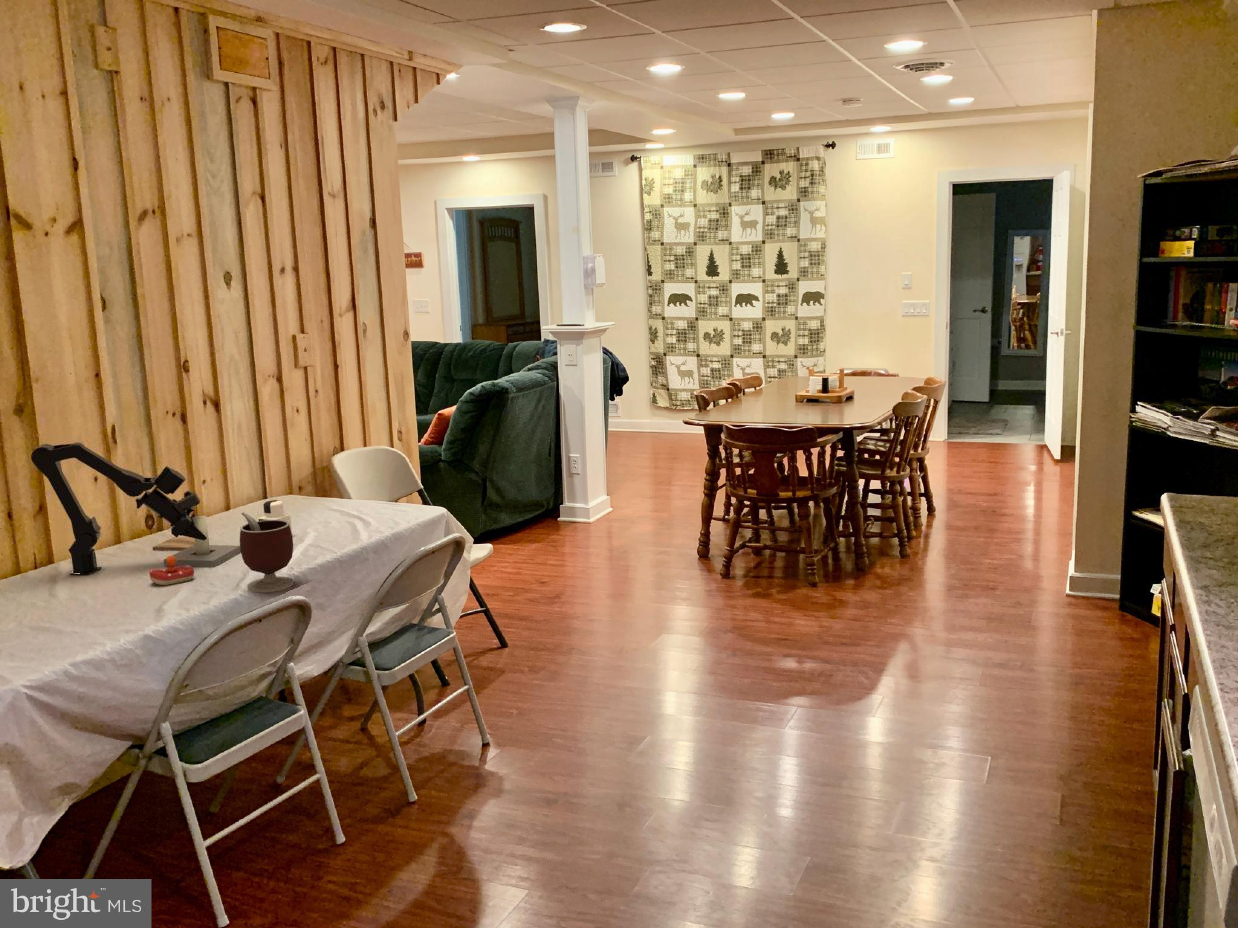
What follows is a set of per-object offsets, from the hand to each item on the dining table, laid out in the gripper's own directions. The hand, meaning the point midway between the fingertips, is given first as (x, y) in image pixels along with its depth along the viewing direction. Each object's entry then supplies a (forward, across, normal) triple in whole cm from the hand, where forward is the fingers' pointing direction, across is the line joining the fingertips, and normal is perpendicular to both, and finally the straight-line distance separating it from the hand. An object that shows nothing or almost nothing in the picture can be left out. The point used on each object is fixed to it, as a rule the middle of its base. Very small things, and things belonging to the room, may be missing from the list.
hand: (206, 537), depth 324 cm
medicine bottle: (+19, +17, -9) cm, 27 cm away
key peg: (+4, 0, +6) cm, 7 cm away
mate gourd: (+17, -36, -7) cm, 40 cm away
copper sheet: (-2, +20, +11) cm, 23 cm away
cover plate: (+4, 0, +6) cm, 7 cm away
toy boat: (-1, -21, +11) cm, 23 cm away
